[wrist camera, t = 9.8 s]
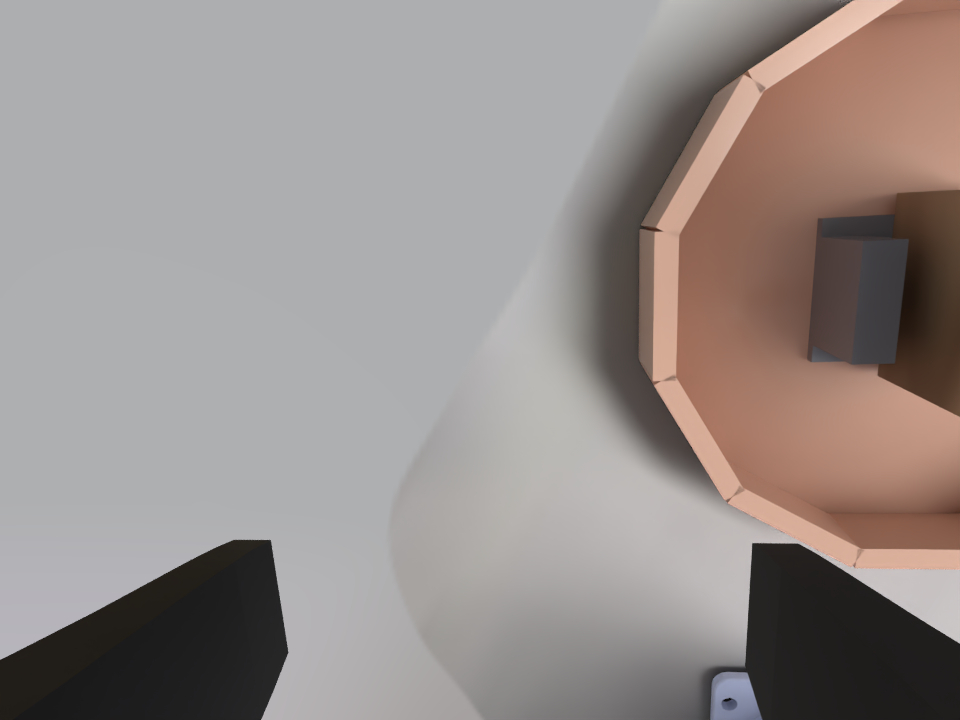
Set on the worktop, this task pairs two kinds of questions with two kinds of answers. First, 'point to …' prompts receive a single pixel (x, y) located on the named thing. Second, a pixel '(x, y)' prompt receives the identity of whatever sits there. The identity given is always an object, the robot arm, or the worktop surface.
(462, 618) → the worktop surface
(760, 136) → the candle dish
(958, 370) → the tan rectangular block
